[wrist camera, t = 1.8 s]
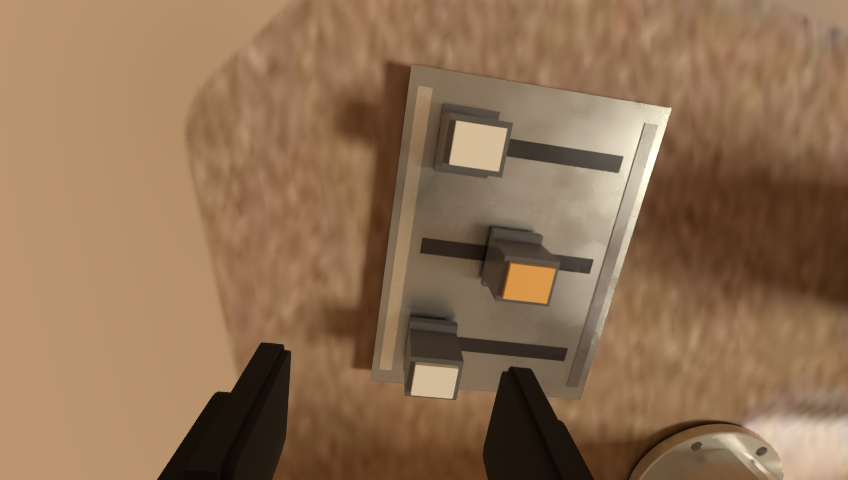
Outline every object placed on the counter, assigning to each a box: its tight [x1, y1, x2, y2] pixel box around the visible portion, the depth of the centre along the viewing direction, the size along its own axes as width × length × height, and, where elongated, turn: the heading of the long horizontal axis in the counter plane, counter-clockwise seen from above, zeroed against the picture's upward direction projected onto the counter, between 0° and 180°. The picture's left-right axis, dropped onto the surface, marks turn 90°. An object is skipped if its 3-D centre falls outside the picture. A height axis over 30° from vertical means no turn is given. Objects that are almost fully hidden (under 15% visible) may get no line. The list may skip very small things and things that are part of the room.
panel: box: [370, 64, 671, 400], centre depth 26 cm, size 15×20×1 cm
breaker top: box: [403, 317, 464, 400], centre depth 24 cm, size 3×4×4 cm
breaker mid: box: [481, 227, 561, 307], centre depth 23 cm, size 3×4×4 cm
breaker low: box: [434, 103, 513, 178], centre depth 21 cm, size 3×4×4 cm
